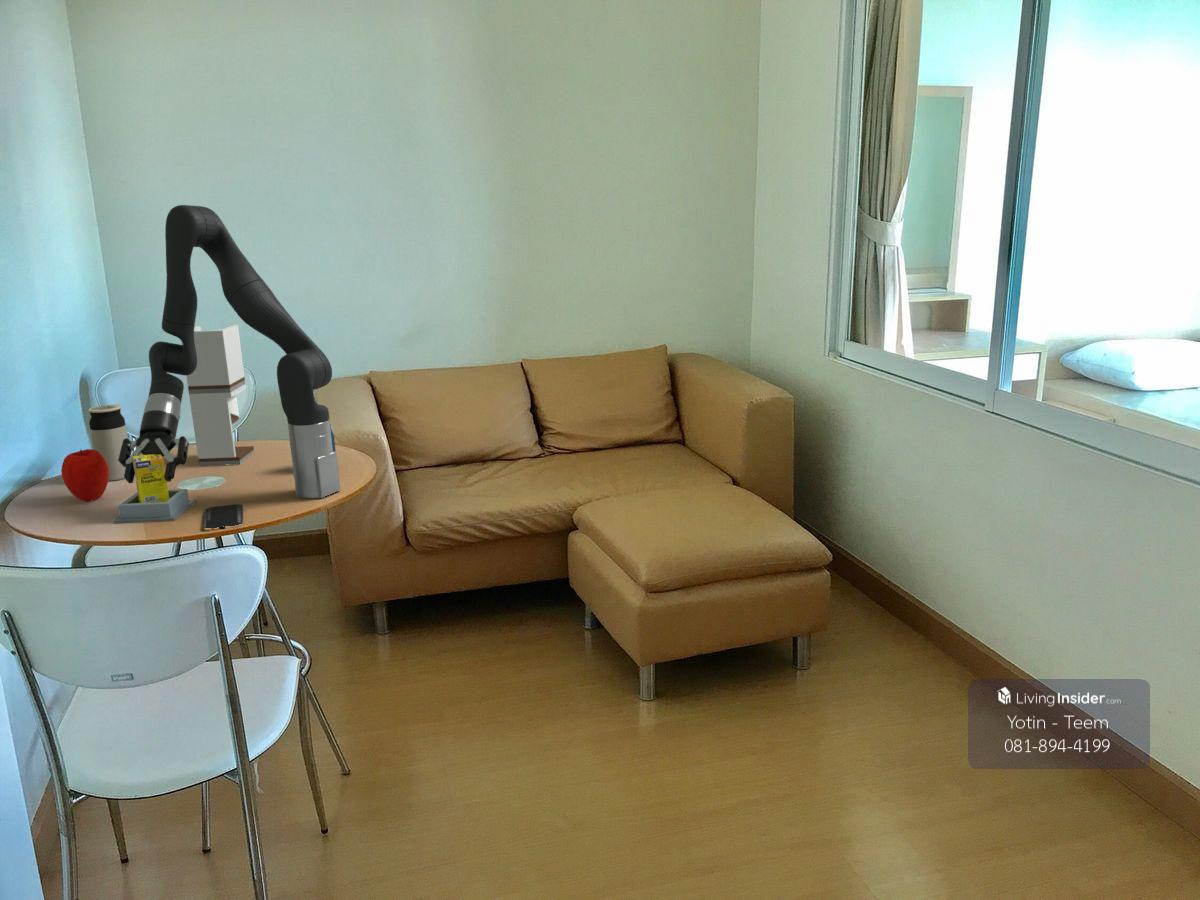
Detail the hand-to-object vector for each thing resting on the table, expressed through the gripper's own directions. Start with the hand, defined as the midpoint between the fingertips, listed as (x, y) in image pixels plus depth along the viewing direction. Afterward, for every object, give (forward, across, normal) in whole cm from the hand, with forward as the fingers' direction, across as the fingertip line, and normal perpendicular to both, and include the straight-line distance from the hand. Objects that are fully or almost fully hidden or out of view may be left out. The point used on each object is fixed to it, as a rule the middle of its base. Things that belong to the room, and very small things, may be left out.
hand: (148, 480), depth 217 cm
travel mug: (-17, -22, +29) cm, 40 cm away
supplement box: (+3, 0, +5) cm, 6 cm away
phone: (+10, +17, +2) cm, 20 cm away
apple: (-4, -20, +16) cm, 26 cm away
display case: (-26, +1, +38) cm, 46 cm away
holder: (+5, 0, +6) cm, 8 cm away
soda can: (-17, +30, +29) cm, 45 cm away
